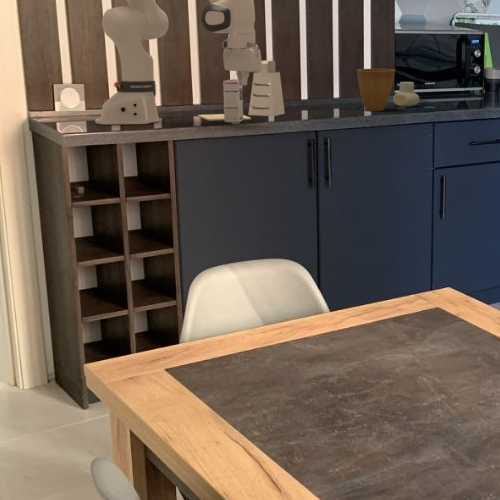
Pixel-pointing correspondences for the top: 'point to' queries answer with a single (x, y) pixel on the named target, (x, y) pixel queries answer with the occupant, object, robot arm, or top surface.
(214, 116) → the mat
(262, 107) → the grater
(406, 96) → the pipe tee fitting
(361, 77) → the plant pot
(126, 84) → the robot arm
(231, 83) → the syrup box
